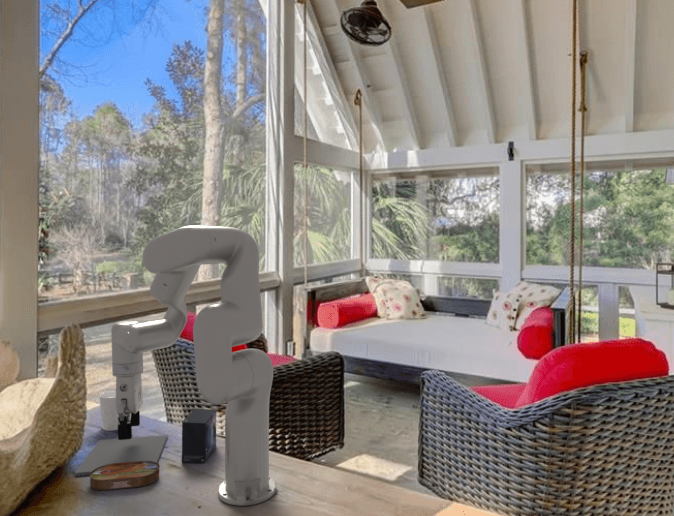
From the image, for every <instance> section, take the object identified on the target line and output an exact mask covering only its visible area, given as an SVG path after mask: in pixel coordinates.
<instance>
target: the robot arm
mask: <svg viewBox="0 0 674 516" xmlns="http://www.w3.org/2000/svg"><path fill="white" fill-rule="evenodd" d="M141 258H142V263H143V266H144V268H145V269H146V270H147V271H148V272H149V273H150V274H154V277H153V280H152V282H151V284H150V287H149V292H150V295H151V296H152V297H153V299H155V300H156V301H158V302H159V303H160V304H162V305H165V306H167V307H168V308H167V310H166V312H165V313H164V316H163V317H162V319H158V320H157V319H156V320H151V321H145V322H140V321H138V320H123V321H117V322H114V323H113V324H112V326H111V330H110V331H111V364H112V365H111V368H112V371H111V373H112V377H115V390H116V412H117V414H118V415H119V417H118V430H117V439H118V440H126V439H131V438H133V434H132V433H133V427H139V426H140V424H141V418H140V417H141V415H140V409H141V408H142V406H143V403H144V397H143V394H144V393H143V381H142V374H143V373H144V353H148V352H151V351H156V350H160V349H165V348H169V347H171V346H173V345H174V344H175V343H176V342H177V341H178V339H179V337H180V336H181V334H182V332H183V330H184V329H185V327H186V325H187V321H188V308H187V303H186V302H185V300H184V299H185V297H186V295H187V293H188V291H189V289H190V287H191V285H192V283H193V281H194V279H195V278H196V276H197V273H198V272H199V269H200V267H201V265H218V264H223V265H224V264H225V265H226V266H225V268H224V270H223V272H222V275H221V278H220V288H219V289H220V295H221V296H220V297H221V300H220V303H214V304H210V305H207V306H204V307H203V308H202V309H201V310H200V311H199V312H198V314H197V315H196V317H195V318H194V319H195V320H194V323H193V327H192V329H193V330H192V332H193V333H192V337H193V340H192V341H193V349H194V350H193V351H194V352H193V353H194V361H195V362H194V364H195V366H194V367H195V376H196V383H197V387H198V391H199V394H200V395H201V397H202V399H204V401H206V402H207V403H209V404H211V405H215V406H216V405H223V404H226V408H225V415H224V416H225V417H224V418H225V419H224V420H225V421H224V433H225V434H224V436H225V437H224V438H225V439H224V441H225V442H224V444H225V445H224V449H225V451H224V453H225V454H224V456H225V457H224V461H225V463H224V464H225V466H224V467H225V468H224V469H225V472H224V473H225V475H224V477H225V480H224V481H223V482H221V483H220V484H219V486H218V489H217V493H218V494H217V495H218V498H219V499H220V500H221V501H222V502H223V503H225V504H228V505H233V506H239V507H241V506H243V507H245V506H247V507H248V506H252V505H257V504H260V503H264V502H266V501H267V500H269V499H270V498H272V497H273V495H274V494H275V493H276V491H277V483H276V481H275V480H274V479H273V478H272V477H270V434H269V433H270V428H269V427H270V398H271V389H272V385H273V379H274V365H273V362H272V359H271V358H270V356H269V355H268V353H266V352H265V351H263V350H262V349H259V348H245V349H240V350H237V351H233V350H232V348H233V347H237V346H242V345H245V344H249V343H252V342H254V341H256V340H257V339H258V338H259V337H260V336H261V334H262V332H263V328H264V327H263V310H262V299H261V298H262V297H261V290H260V289H261V288H260V275H259V274H260V273H259V272H260V271H259V270H260V252H259V247H258V245H257V242H256V240H255V239H254V238H253V236H252V235H251V234H250V233H249V232H247V231H245V230H242V229H239V228H236V227H230V226H221V225H220V226H219V225H210V226H209V225H186V226H182V227H179V228H176V229H174V230H171V231H168V232H165V233H162V234H160V235H157V236H155V237H153V238H151V239H150V241H148V242H147V244H146V245H145V247H144V248H143V252H142V257H141ZM125 415H127V417H126V416H125Z"/></svg>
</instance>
